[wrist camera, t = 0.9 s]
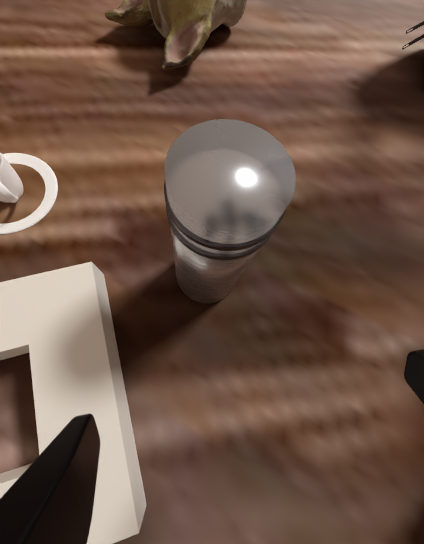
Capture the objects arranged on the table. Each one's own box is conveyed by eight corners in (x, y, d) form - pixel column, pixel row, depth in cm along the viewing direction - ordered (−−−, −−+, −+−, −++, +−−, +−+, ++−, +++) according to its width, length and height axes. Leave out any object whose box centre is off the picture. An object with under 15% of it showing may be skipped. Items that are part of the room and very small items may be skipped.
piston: (245, 295, 22) (318, 216, 10) (183, 311, 22) (181, 247, 9) (227, 238, 24) (271, 109, 11) (168, 252, 23) (148, 127, 11)
